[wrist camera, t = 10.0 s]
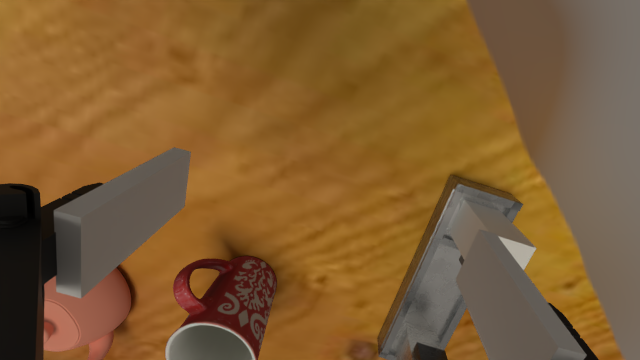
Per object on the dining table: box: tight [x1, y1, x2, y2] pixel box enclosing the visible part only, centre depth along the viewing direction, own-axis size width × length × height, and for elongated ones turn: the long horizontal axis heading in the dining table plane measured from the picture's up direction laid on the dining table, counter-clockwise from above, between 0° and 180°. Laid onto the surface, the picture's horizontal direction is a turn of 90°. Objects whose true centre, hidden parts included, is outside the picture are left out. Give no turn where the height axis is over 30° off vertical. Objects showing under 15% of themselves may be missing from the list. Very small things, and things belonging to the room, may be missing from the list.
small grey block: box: [449, 200, 536, 271], centre depth 35 cm, size 5×4×8 cm
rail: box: [377, 175, 523, 360], centre depth 38 cm, size 24×7×10 cm, turn 163°
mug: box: [165, 256, 277, 360], centre depth 40 cm, size 13×9×14 cm
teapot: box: [44, 268, 131, 360], centre depth 45 cm, size 12×18×10 cm
